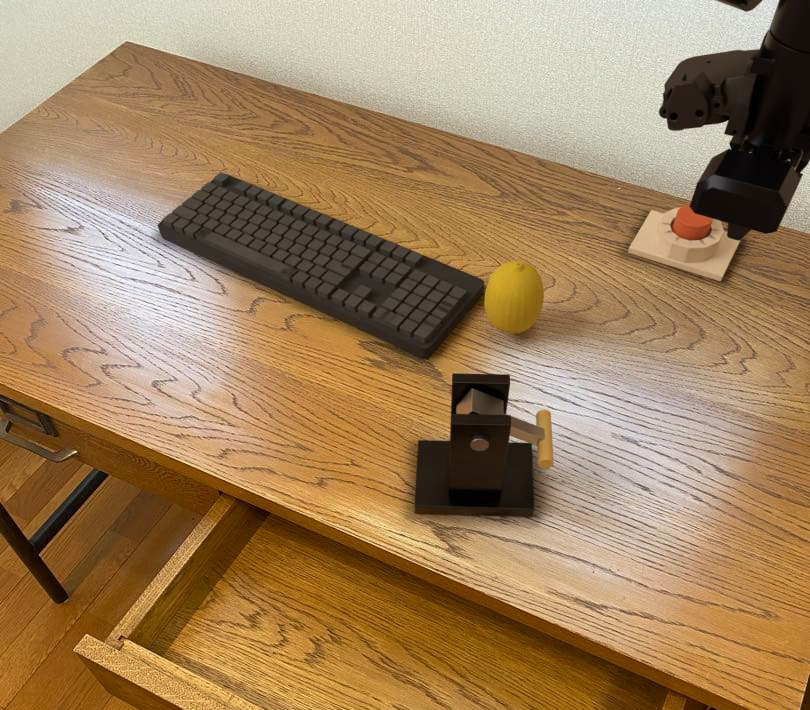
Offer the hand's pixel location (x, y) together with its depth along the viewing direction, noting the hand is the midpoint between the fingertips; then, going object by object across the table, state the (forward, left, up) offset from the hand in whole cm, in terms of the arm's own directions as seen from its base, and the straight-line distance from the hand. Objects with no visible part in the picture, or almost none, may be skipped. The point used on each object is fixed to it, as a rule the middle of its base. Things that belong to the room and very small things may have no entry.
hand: (734, 236), depth 62 cm
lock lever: (+24, +11, -5) cm, 27 cm away
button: (-5, -13, -10) cm, 17 cm away
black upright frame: (+25, +11, -12) cm, 30 cm away
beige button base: (-5, -13, -12) cm, 18 cm away
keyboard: (+34, -21, -12) cm, 41 cm away
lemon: (+17, -6, -12) cm, 21 cm away
